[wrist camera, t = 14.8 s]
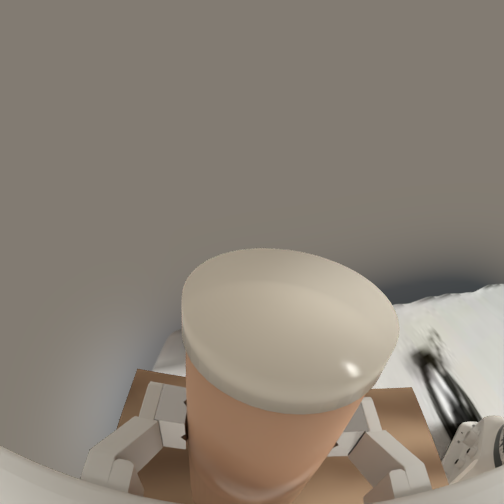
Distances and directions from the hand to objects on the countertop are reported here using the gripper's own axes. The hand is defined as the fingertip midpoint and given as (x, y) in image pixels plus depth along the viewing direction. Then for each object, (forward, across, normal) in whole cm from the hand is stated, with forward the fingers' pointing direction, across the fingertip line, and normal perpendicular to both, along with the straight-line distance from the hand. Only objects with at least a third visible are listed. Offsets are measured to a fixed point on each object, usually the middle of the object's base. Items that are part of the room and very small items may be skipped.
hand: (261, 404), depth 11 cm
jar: (-1, 0, +7) cm, 7 cm away
